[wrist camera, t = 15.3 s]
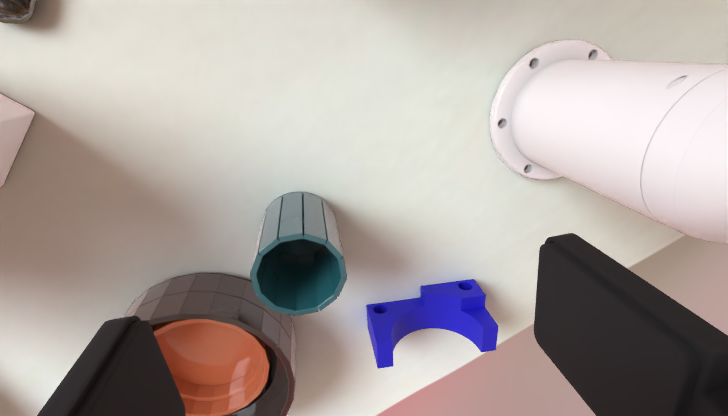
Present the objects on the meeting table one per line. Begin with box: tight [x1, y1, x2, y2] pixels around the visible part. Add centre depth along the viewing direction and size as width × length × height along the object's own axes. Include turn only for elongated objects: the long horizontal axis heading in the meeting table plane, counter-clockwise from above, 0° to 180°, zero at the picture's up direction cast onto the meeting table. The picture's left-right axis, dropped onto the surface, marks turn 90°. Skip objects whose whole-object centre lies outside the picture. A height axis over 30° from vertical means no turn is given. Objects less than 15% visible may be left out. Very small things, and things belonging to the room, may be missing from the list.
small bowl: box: [151, 319, 271, 416], centre depth 38 cm, size 12×12×4 cm
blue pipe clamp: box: [367, 279, 498, 368], centre depth 39 cm, size 12×4×6 cm, turn 93°
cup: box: [250, 192, 347, 316], centre depth 32 cm, size 7×7×9 cm
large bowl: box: [123, 273, 296, 416], centre depth 37 cm, size 17×17×6 cm
